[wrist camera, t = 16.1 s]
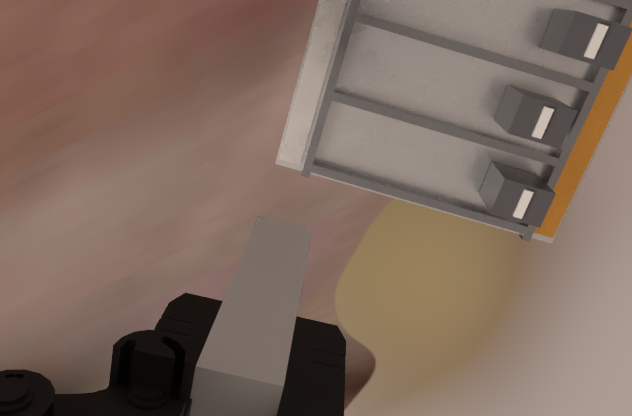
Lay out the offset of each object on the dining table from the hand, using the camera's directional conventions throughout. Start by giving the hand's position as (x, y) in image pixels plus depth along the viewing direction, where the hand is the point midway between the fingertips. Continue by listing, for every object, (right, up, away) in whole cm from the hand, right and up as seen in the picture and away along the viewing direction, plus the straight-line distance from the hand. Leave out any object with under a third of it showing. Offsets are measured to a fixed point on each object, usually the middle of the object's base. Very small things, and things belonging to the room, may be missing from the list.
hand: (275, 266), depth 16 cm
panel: (+11, +10, +26) cm, 30 cm away
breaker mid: (+16, +9, +25) cm, 31 cm away
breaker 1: (+15, +3, +27) cm, 31 cm away
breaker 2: (+18, +13, +23) cm, 32 cm away
